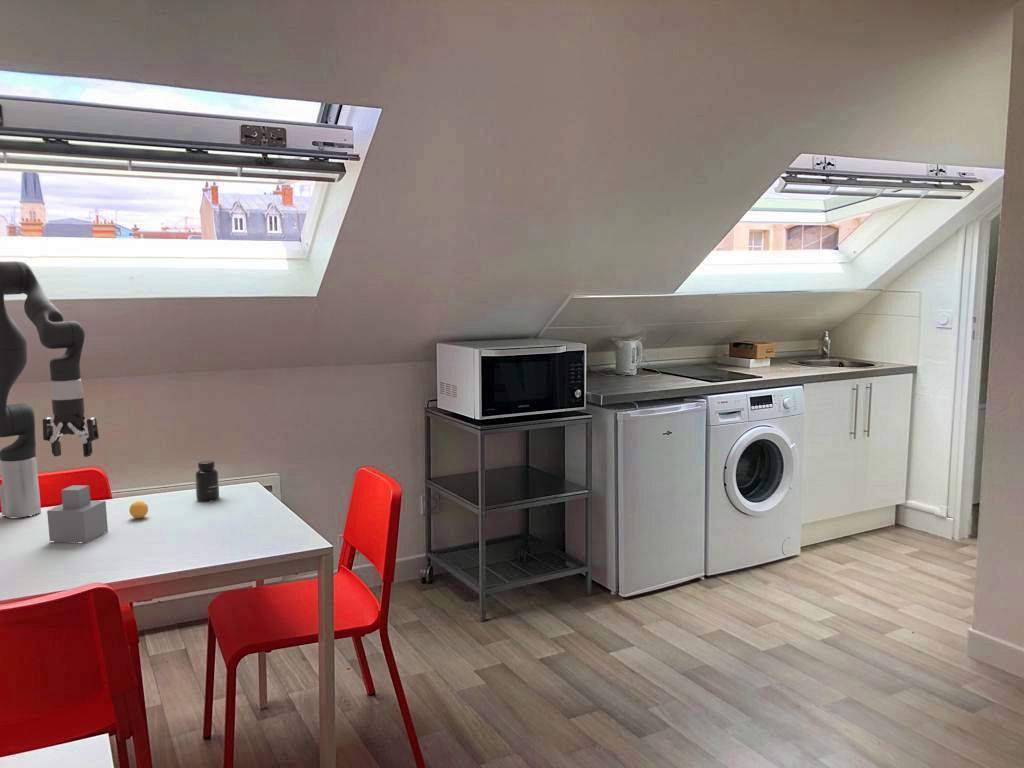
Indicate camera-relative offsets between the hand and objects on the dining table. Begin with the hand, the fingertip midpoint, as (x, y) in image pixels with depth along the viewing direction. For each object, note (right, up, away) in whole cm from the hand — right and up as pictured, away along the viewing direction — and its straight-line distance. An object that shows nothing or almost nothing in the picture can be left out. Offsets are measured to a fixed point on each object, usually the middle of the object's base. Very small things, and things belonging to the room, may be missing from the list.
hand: (72, 456), depth 226 cm
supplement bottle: (+22, -17, +40) cm, 49 cm away
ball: (+9, -17, +20) cm, 28 cm away
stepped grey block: (0, -22, +3) cm, 23 cm away
